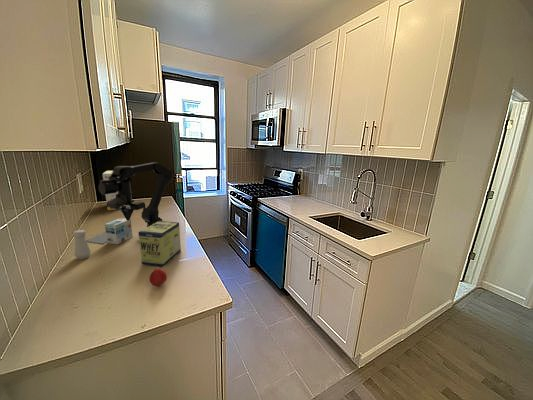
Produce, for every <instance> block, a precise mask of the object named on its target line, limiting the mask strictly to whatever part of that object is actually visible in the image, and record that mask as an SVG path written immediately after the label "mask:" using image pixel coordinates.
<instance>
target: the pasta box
mask: <svg viewBox="0 0 533 400" xmlns="http://www.w3.org/2000/svg"><path fill="white" fill-rule="evenodd" d="M112 173H113V170H106V171H104V172H103V173H102V180H109V178H110V176H111V174H112ZM117 178H119V177H117ZM116 194H118V191H117V192H116V193H111V194H105V195H104V196H105V200H106V201H105V202H106V203H107V202H108V201H111V200H112V199H114V198H116ZM106 207H107V206H106ZM106 210H108V211H112V210H116V209H111V208H110V207H107V209H106Z"/></svg>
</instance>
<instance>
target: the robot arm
mask: <svg viewBox="0 0 533 400" xmlns="http://www.w3.org/2000/svg"><path fill="white" fill-rule="evenodd" d="M112 171H113V173H112V174H111V176H110V178H109V180H103V179H101V180H99V184H98V187H97V188H98V192H99V193H100V194H101V195H102V196H106V195H105V194H111V193H116V192H117V191H118V194H116V198H114V199H112V200H111V201H108V202H106V207H110V208H111V209H115V210H119V211H120V212H121V213H122V215H123V216H124V218H125V219H126V220H130V219H131V217H132V215H133V213H134V211H138V210H139V211H140V210H141V209H142V212H141V213H140V214H141V218H142V220H143V221H144V222H145V224H146V228H147V227H149V226H151V225H153V224H154V223H156V222H158V221H163V219H162V218H161V217H159V215H160V214H159V213H160V211H159V206H160V203H161V200H162V197H163V195H164V191H165V189H166V187H167V185H168V184H169V183H170V182H171V181H172V179H173V177H174V174H173V171H172V170H171V169H168V168H166V167H165V166H164V165H161V164H160V163H159V162H155V161H153V162H152V161H151V162H149V163H148V162H147V163H142V164H136V165H117V166H114V167H113V169H112ZM150 171H153V173H155V174H156V182H157V183H156V185H155V188H154V191H153V194H152V196H151V199H150V201H149V204H148V205H147V206H146V203H145V202H144V201H136V202H135V200H134V199H133V197H132V195H134V192H133V191H132V187H131V183H132V182H135V179H134V178H132V177H134V176H135V175H137V174H140V173H146V172H150ZM117 177H119V178H117Z"/></svg>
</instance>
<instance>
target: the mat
mask: <svg viewBox="0 0 533 400" xmlns="http://www.w3.org/2000/svg"><path fill="white" fill-rule="evenodd" d="M86 241H87V243H93V244H99V245H104V244H108V243H107V236H106V231H105V232H103V233H100V234H97V235H95V236H93V237H90V238H87V239H86Z"/></svg>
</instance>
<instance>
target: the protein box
mask: <svg viewBox="0 0 533 400" xmlns="http://www.w3.org/2000/svg"><path fill="white" fill-rule="evenodd" d="M138 240H139V241H138V242H139V249H140V258H141V265H142V266H143V265H145V266H152V267H159V268H164V267H165V266H166V265H167V264H169V263H170V262H171V261H172V260H173V259H174V258H175V257H176V256H178V255H179V254H180V253H181V252H182V249H181V248H182V247H181V233H180V222H176V221H166V220H162V221H158V222H156V223H154V224H153V225H151V226H149V227H147V226H146V228H144V229H142V230H139V231H138Z"/></svg>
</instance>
